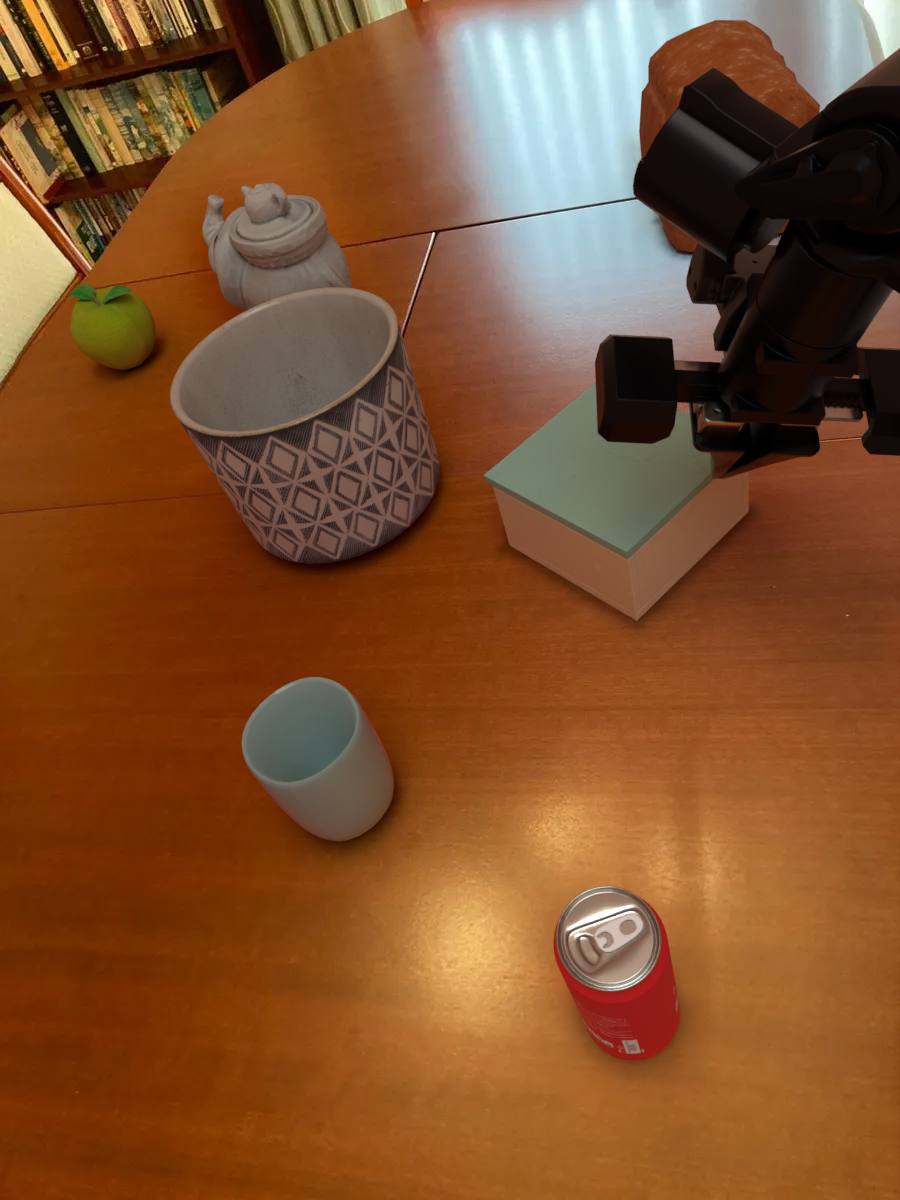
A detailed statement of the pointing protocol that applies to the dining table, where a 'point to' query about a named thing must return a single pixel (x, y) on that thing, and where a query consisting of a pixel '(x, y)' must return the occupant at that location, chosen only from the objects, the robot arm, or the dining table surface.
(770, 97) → the bread
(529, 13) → the dining table surface
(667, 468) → the lid
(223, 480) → the planter
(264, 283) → the teapot
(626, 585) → the cream square box
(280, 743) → the cup
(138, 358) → the fruit
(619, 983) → the beverage can
